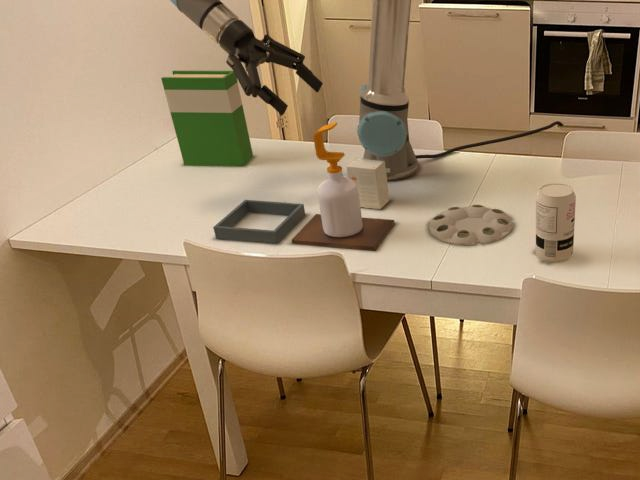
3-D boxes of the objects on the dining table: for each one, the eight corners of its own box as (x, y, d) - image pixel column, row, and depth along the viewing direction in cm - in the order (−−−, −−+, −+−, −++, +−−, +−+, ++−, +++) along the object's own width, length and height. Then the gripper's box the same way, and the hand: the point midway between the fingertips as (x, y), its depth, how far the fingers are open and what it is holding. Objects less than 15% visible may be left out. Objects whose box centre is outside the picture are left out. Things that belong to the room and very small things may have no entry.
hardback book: (184, 165, 214) (161, 78, 200) (195, 155, 220) (173, 70, 206) (243, 166, 212) (224, 78, 198) (253, 156, 218) (235, 70, 204)
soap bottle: (355, 239, 170) (340, 132, 156) (317, 236, 172) (299, 130, 158) (368, 222, 178) (355, 118, 163) (331, 220, 179) (315, 116, 165)
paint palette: (456, 253, 166) (456, 245, 165) (414, 222, 179) (413, 214, 178) (529, 230, 174) (529, 222, 173) (483, 201, 188) (483, 194, 186)
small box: (390, 200, 190) (385, 160, 184) (380, 210, 185) (375, 169, 179) (361, 197, 192) (356, 157, 186) (351, 206, 188) (345, 165, 181)
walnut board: (394, 223, 179) (394, 219, 178) (375, 250, 168) (374, 246, 167) (316, 217, 183) (315, 213, 182) (292, 243, 172) (291, 239, 171)
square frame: (305, 215, 184) (303, 203, 182) (277, 244, 172) (275, 232, 170) (247, 210, 187) (245, 199, 186) (216, 238, 175) (212, 227, 173)
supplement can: (532, 247, 167) (533, 183, 158) (569, 245, 167) (572, 181, 159) (537, 265, 160) (539, 199, 152) (576, 262, 161) (579, 196, 152)
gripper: (259, 27, 179) (327, 90, 182) (187, 63, 162) (263, 132, 165) (268, 2, 173) (339, 67, 176) (195, 37, 157) (274, 108, 159)
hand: (303, 99), depth 170 cm, fingers open, 13 cm apart
